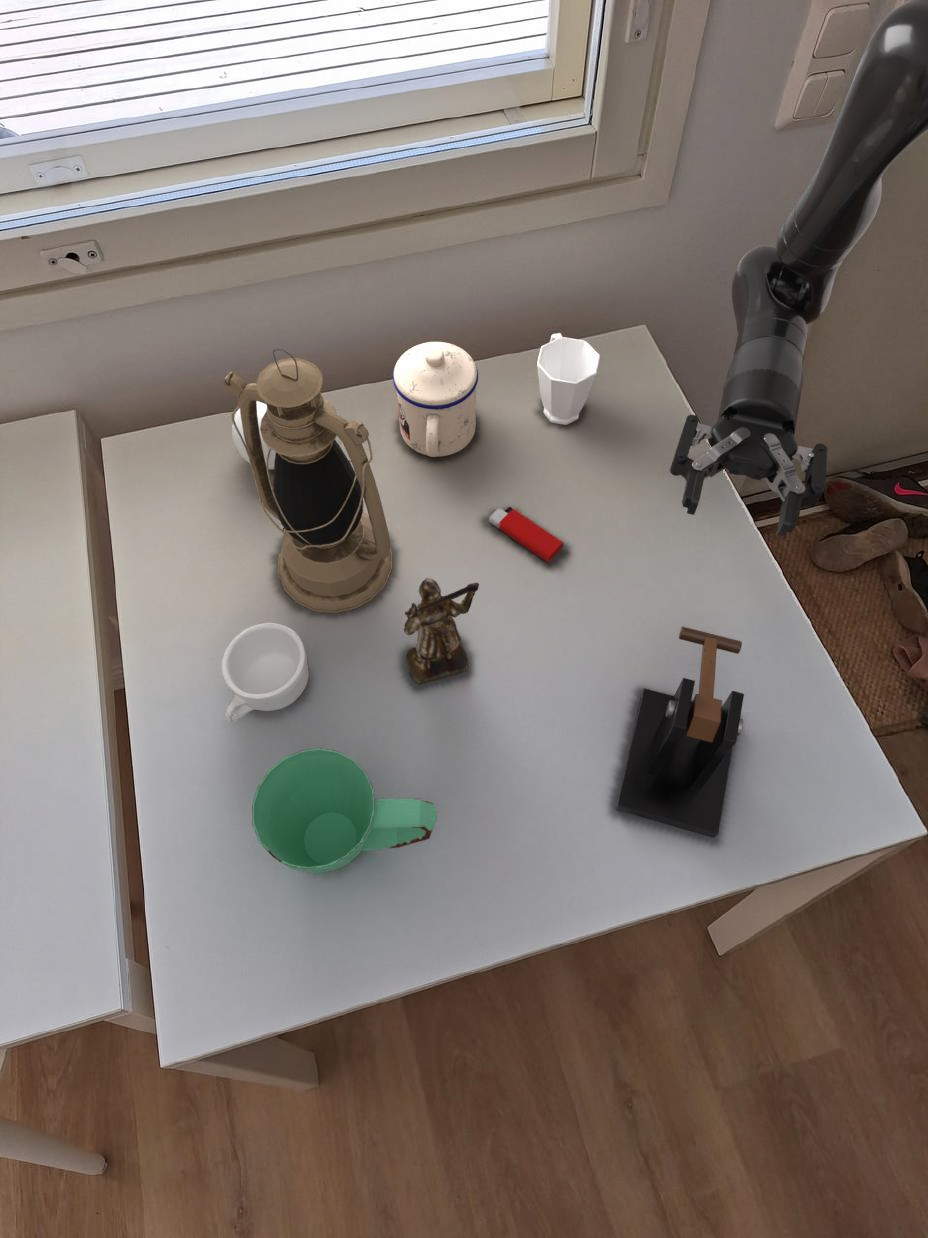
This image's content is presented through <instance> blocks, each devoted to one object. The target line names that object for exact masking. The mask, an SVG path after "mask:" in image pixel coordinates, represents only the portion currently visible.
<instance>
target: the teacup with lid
mask: <svg viewBox="0 0 928 1238" xmlns="http://www.w3.org/2000/svg"><path fill="white" fill-rule="evenodd" d="M478 382H479V371H478V367H477V365H476V363H475V360H474V359H473V358H472V356H471V355H470V354H469V353H468V352H467V351H466V350H464V349H463V348H462V347H459V346H458V345H455V344H453V343H449V342H444V341H428V342H423V343H420V344H416V345H415V346H413V347H411V348H409V349H407V350H406V351H405V352H404V353H403V354H402V355H401V356H400V357H399V358H398V360H397V362H396V364H395V366H394V369H393V372H392V383H393V387H394V388H395V389H394V390H395V391H396V401H397V410H398V418H399V419H398V420H399V428H400V429H399V430H400V434H401V437H402V440H403V441H404V442H405V444H406V445H407V446H408V447H409V448H411V449H412V450H413V451H415V452H416V453H418V454H421V455H424V456H428V457H430V458H436V457H447V456H450V455H454V454H457V453H459V452H460V451H461V450H463V449H465V448H466V447H467V446H468V445H469V444H470V442H471V441H472V440H473V438H474V437H475V436H474V435H475V433H476V426H477V425H476V424H477V422H476V418H477V414H476V413H477V404H476V403H477V386H478Z"/></svg>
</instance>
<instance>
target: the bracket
mask: <svg viewBox="0 0 928 1238" xmlns="http://www.w3.org/2000/svg"><path fill="white" fill-rule="evenodd" d="M695 683H696V680H693V679H689V678H686V677H682V679H681V681H680V683H679V685H678V686H677V689H676V691H675V693H674V695H672V694H667V693H663V692H660V691H656V690H652V689H649V688H643V689H642V691H641V694H640V698H639V702H638V707H637V712H636V716H635V721H634V725H633V730H632V734H631V738H630V743H629V748H628V752H627V757H626V760H625V765H624V769H623V774H622V779H621V784H620V788H619V793H618V797H617V801H616V805H615V810H616V811H619V812H623V813H626V814H629V815H633V816H637V817H641V818H644V819H646V820H651V821H654V822H656V823H659V824H660V823H661V824H665V825H667V826H671V827H675V828H678V829H682V830H685V831H689V832H692V833H696V834H699V835H703V836H706V837H710V838H713V839H715V838H716V837H717V836H718V835H719V831H720V825H721V820H722V819H721V818H722V812H723V806H724V801H725V800H724V799H725V794H726V788H727V782H728V777H729V771H730V770H729V769H730V764H731V757H732V753H733V747H735V745H736V743H737V740H738V737H739V736H740V735H741V733H742V729H743V726H744V720H743V718H741V715H742V709H743V705H744V704H743V703H744V698H745V693H743V692H740V691H735V690H731V692H730V693H729V695H728V696H727V698H726V699H725V701H724V703H722V710H721V723H720V725H719V728H718V730H717V733H716V735H715V738H714V740H713V742H712V743H711V742H708V741H704V740H700V739H696V738H693V737H689V736H686V730H687V720H688V715H689V710H690V707H691V705H692V702H693V700H692V699H693V694H694V689H695Z"/></svg>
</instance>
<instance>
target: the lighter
mask: <svg viewBox="0 0 928 1238" xmlns="http://www.w3.org/2000/svg"><path fill="white" fill-rule="evenodd" d="M488 522H489V523H490V524H492V525H493V526H494V527H495V528H497V529H498V530H500V531H502V532H503V533H504V534H506V535H508V536H509V537H511V538H512V539H513V540H515V541H516V542H517V543H519V544H520V545H521V546H523V547H525V548H526V549H527V550H529V551H530V552H532V553H533V554H535V555H537V557H539V558H541V560H544V561H545V562H546V563H550V562H551V561H552V560H553V559H554V558H555V557H556V556H557V555H558V553H559V552H560V551H561V550H562V549H563V547H564V544H565V543H564V542H563V541H562V540H560V539H559V538H558V537H556V536H554V535H553V534H551V533H550V532H549V531H547V530H545V528H542V527H541V526H539V524H537V523H535V522H534V521H532V520H531V519H529V518H528V517H526V516H525V515H523V514H522V513H520V512H519V511H518V510H516V509H514V508H512V507H511V506H508V507H507V508H506V509H505V510H504V508H502V507H497V509H496V510H494V511H493V513H492V514H491V515H490V516H489V519H488Z"/></svg>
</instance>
